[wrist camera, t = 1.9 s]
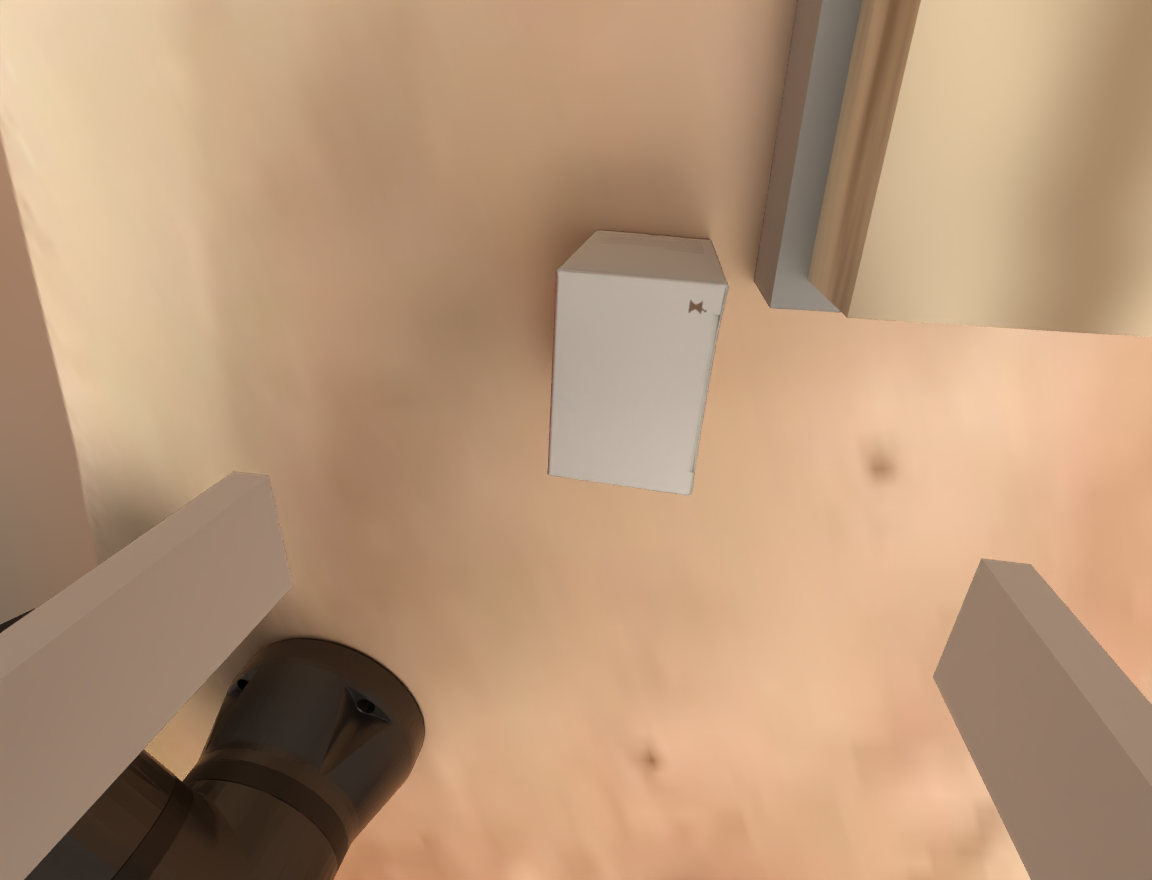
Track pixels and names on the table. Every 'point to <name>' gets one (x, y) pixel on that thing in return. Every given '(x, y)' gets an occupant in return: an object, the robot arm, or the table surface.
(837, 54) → the block base
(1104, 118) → the block top
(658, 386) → the small box
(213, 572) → the robot arm
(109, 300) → the table surface
